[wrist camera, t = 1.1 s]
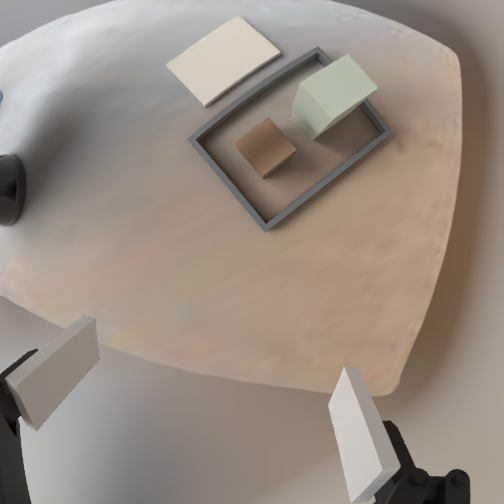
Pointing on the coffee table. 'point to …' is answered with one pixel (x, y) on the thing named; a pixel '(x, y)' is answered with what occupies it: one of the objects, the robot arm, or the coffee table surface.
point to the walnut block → (265, 147)
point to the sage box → (330, 95)
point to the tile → (222, 60)
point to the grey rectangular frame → (250, 96)
